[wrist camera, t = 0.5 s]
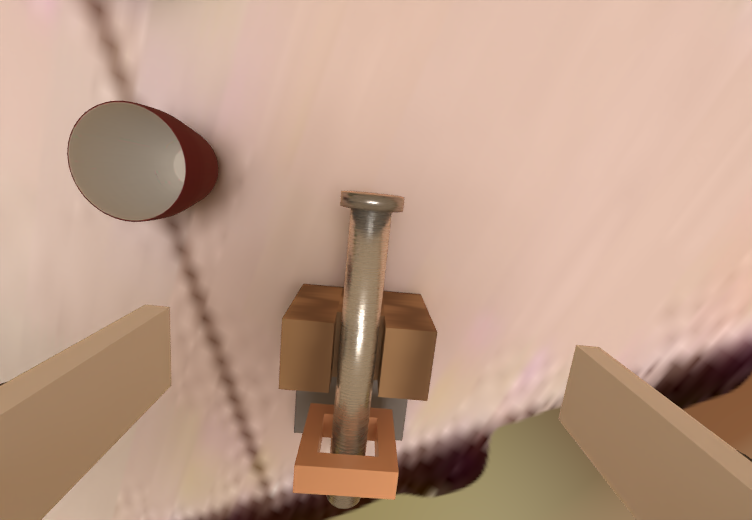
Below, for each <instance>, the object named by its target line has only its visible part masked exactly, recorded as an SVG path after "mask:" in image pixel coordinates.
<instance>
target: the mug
mask: <svg viewBox="0 0 752 520" xmlns="http://www.w3.org/2000/svg"><path fill="white" fill-rule="evenodd" d="M67 155H68V164H69V168H70V172H71V175H72V177H73V180H74V182H75V184H76V185H77V187H78V189H79V190H80V192H81V193H82V194H83V196H84V197H85V198H86V199H87V200H88V201H89V202H90V203H91V204H92V205H93V206H94V207H96V208H97V209H98V210H100V211H102V212H103V213H105V214H107V215H109V216H111V217H114V218H116V219H120V220H124V221H131V222H141V221H150V220H156V219H161V218H166V217H169V216H172V215H175V214H177V213H180V212H182V211H183V210H185V209H187V208H189V207H190V206H192V205H194V204H195V203H197V202H199V201H200V200H202V199H203V198H205V197H206V196H207V195H208V194H209V193H210V192H211V190H212V189H213V187H214V186H215V183H216V181H217V177H218V163H217V159H216V156H215V153H214V151H213V150H212V148H211V146H210V145H209V144H208V143H207V141H206V140H205V139H204V138H203V137H201V136H200V135H199V134H198V133H196V132H195V131H193V130H192V129H191V128H189V127H188V126H186V125H185V124H183V123H182V122H181V121H179V120H178V119H176V118H174V117H173V116H171V115H169V114H167V113H165V112H162V111H160V110H158V109H155V108H151V107H148V106H145V105H141V104H137V103H133V102H128V101H110V102H105V103H102V104H99V105H97V106H94V107H93V108H91V109H89V110H88V111H87V112H85V113H84V114H83V115H82V116H81V117H80V118H79V120H78V121H77V122H76V124H75V125H74V127H73V129H72V132H71V134H70V137H69V142H68V152H67Z"/></svg>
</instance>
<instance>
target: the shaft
mask: <svg viewBox="0 0 752 520" xmlns="http://www.w3.org/2000/svg"><path fill="white" fill-rule="evenodd" d="M340 205H341V206H343V207H348V208H351V214H350V226H349V238H348V249H347V261H346V273H345V285H344V296H343V308H342V320H341V331H340V343H339V355H338V367H337V378H336V390H335V402H334V414H333V425H332V437H331V449H330V453H332V454H346V455H360V456H365V453H366V444H367V435H368V425H369V416H370V407H371V398H372V389H373V380H374V370H375V361H376V352H377V343H378V334H379V325H380V315H381V306H382V297H383V288H384V279H385V270H386V260H387V251H388V242H389V233H390V224H391V215H392V212H403V206H404V197H401V196H394V195H387V194H378V193H368V192H357V191H341V202H340ZM327 498H328V500H329V502H330V503H331V504H332V505H334V506H335V507H338V508H344V509H345V508H350V507H353V506H354V505H356V504H357V503H358V502H359V500H360V497H350V496H335V495H327Z"/></svg>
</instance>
